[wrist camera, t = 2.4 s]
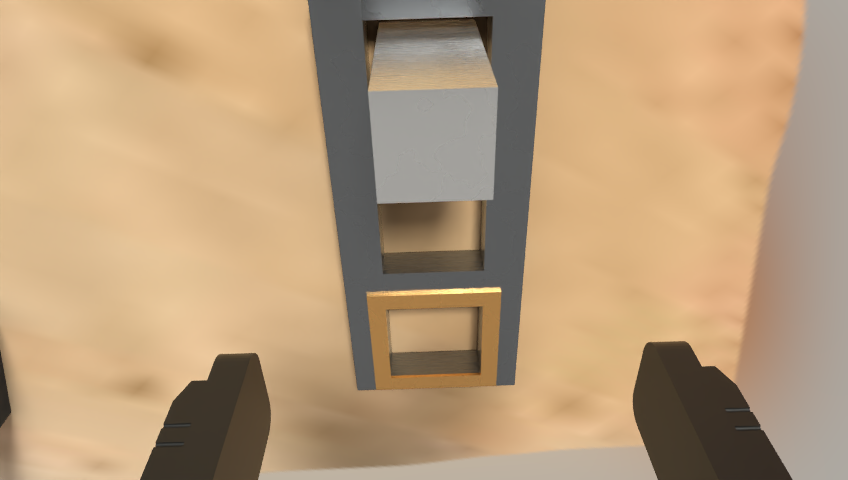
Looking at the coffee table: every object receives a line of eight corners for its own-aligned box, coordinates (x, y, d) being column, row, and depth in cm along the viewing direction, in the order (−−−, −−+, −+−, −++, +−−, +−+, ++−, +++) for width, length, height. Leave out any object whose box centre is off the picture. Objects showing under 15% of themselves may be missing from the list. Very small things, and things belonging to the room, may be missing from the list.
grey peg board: (313, -18, 27) (306, -7, 25) (538, -25, 27) (547, -15, 25) (359, 367, 40) (357, 392, 38) (509, 362, 40) (514, 387, 38)
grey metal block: (379, 22, 28) (368, 91, 20) (474, 18, 28) (497, 87, 20) (385, 112, 30) (376, 203, 23) (472, 109, 30) (493, 199, 23)
